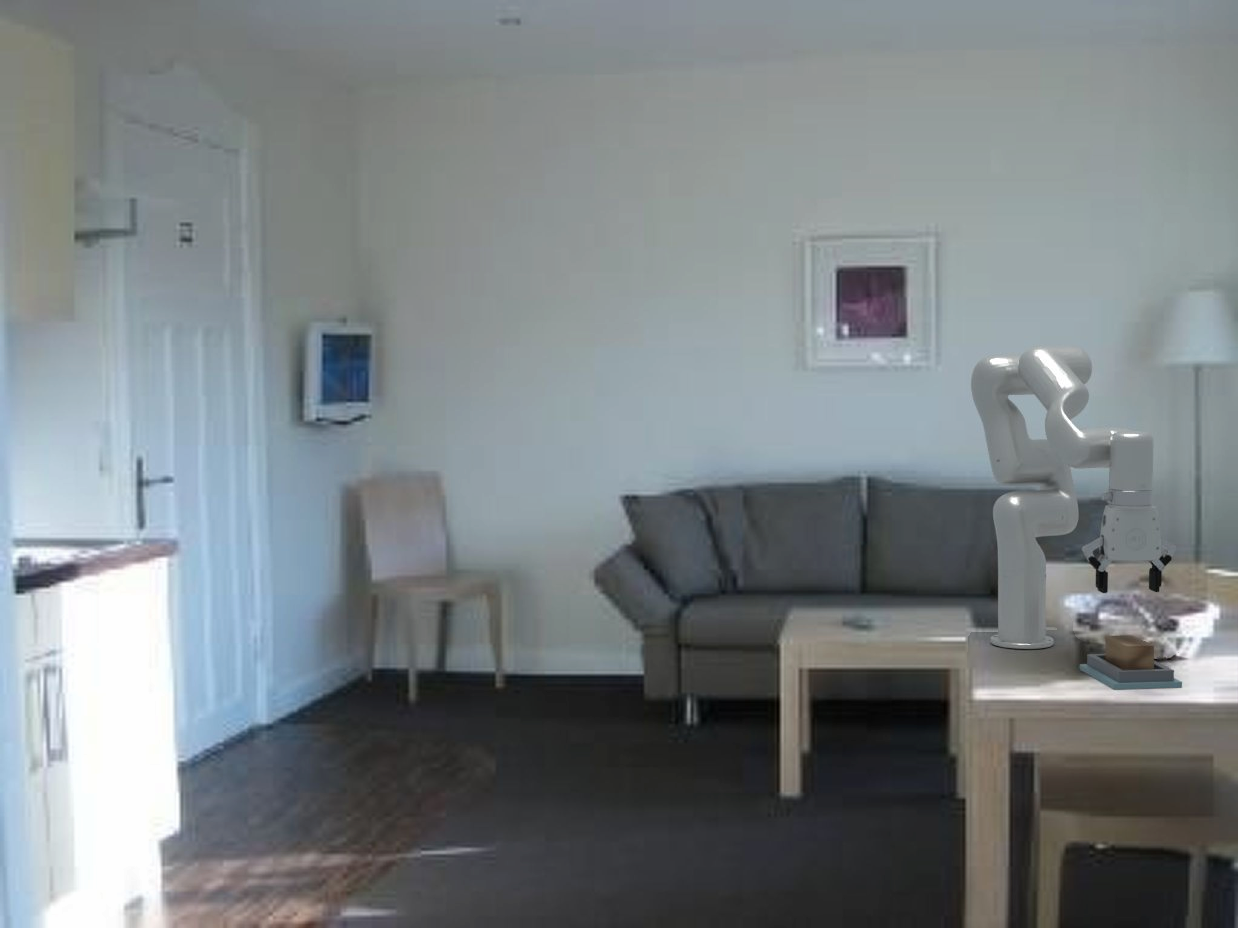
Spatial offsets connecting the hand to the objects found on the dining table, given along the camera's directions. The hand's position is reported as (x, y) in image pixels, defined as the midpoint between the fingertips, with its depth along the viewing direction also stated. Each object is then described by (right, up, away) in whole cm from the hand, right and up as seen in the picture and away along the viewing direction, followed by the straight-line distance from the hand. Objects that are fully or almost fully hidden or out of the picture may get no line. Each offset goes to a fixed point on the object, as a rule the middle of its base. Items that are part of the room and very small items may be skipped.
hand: (1128, 591), depth 275 cm
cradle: (0, -16, +1) cm, 16 cm away
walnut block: (0, -15, +1) cm, 15 cm away
